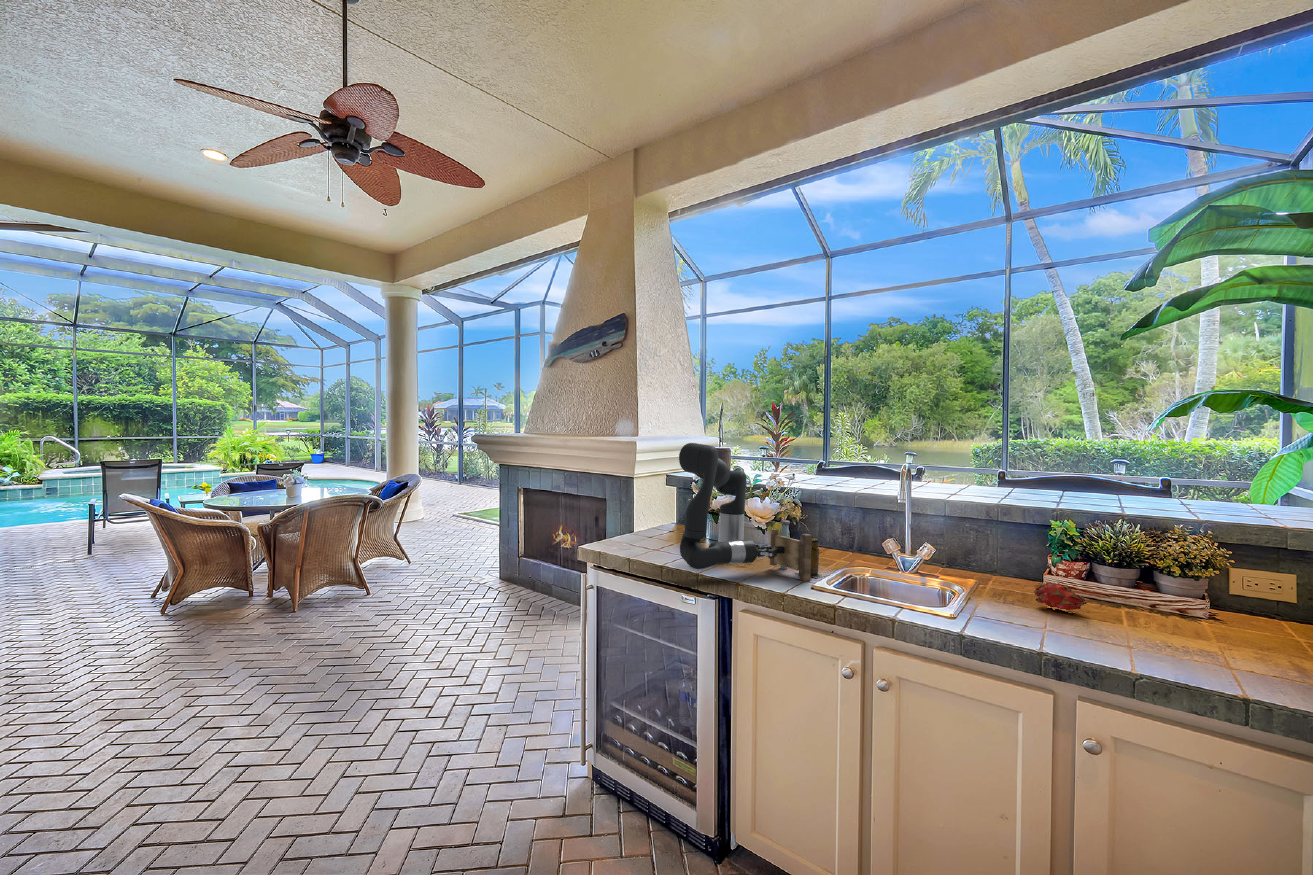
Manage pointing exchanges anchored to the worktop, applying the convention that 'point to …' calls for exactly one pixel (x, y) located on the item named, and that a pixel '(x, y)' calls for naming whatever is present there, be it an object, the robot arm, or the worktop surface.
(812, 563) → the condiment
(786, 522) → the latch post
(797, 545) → the gate
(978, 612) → the worktop surface
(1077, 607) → the dragon fruit
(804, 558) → the hinge post
